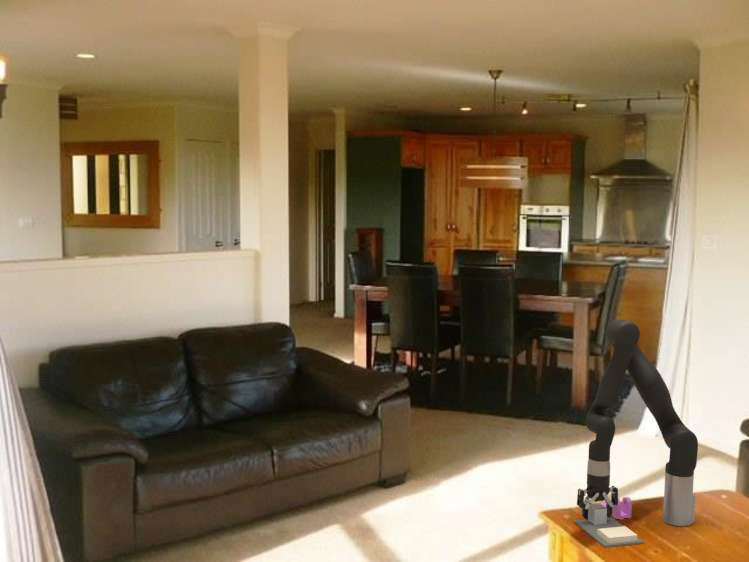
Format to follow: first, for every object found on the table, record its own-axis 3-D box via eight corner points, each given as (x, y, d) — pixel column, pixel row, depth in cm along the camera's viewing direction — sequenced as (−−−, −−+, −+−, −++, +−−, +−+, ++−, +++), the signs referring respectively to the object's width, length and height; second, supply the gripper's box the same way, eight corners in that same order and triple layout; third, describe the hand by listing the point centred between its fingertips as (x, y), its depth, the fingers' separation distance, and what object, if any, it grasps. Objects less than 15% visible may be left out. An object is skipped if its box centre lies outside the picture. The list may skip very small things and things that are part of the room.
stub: (599, 518, 294) (599, 503, 294) (606, 523, 289) (606, 508, 289) (587, 519, 293) (588, 504, 293) (594, 525, 288) (595, 509, 288)
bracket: (631, 518, 296) (631, 499, 296) (617, 520, 295) (617, 500, 294) (610, 505, 309) (611, 486, 308) (596, 506, 307) (597, 488, 307)
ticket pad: (611, 519, 295) (611, 511, 295) (644, 543, 275) (644, 535, 275) (574, 522, 292) (574, 514, 292) (604, 547, 272) (605, 539, 272)
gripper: (612, 466, 295) (610, 512, 296) (574, 469, 291) (572, 515, 293) (623, 473, 287) (621, 520, 289) (584, 476, 284) (582, 523, 286)
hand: (596, 517), depth 291 cm, fingers open, 8 cm apart
